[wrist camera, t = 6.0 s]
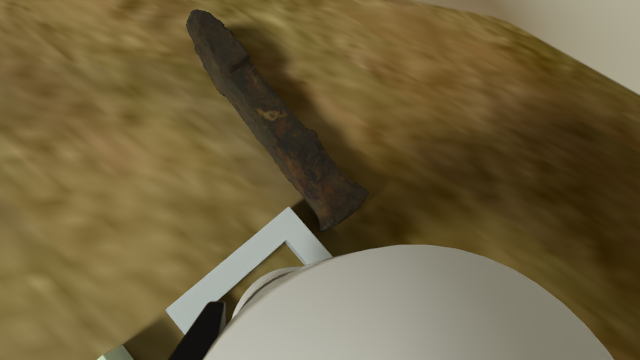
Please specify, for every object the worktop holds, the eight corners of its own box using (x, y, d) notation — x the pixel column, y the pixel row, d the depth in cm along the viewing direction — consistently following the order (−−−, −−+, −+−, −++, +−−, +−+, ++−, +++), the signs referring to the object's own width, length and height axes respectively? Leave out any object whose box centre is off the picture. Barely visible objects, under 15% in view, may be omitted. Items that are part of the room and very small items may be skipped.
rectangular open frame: (375, 312, 22) (383, 314, 20) (269, 431, 19) (271, 444, 17) (286, 210, 23) (288, 206, 21) (171, 307, 19) (165, 309, 18)
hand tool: (359, 207, 24) (383, 191, 20) (320, 237, 23) (336, 227, 18) (225, 30, 26) (220, -18, 22) (182, 48, 25) (167, 0, 21)
